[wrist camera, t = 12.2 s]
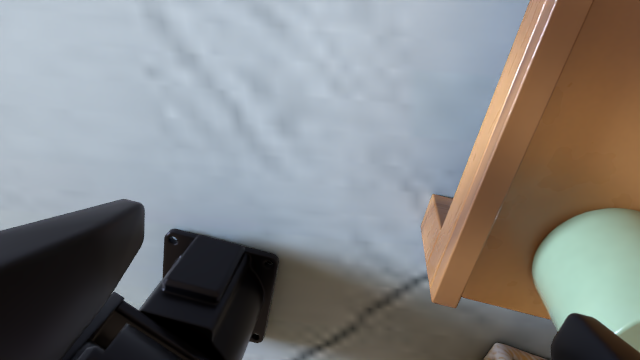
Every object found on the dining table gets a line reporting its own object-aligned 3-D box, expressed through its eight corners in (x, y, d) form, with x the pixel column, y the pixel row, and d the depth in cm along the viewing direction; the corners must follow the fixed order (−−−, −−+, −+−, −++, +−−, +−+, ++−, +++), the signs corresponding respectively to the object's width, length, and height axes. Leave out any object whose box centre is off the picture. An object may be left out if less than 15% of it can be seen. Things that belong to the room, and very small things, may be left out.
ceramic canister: (632, 328, 16) (725, 456, 12) (510, 297, 17) (557, 412, 12) (704, 226, 14) (850, 334, 10) (565, 192, 15) (645, 283, 10)
